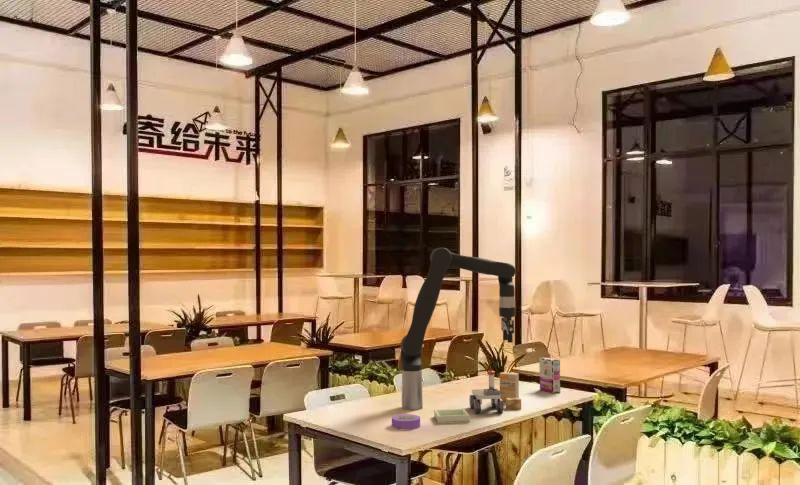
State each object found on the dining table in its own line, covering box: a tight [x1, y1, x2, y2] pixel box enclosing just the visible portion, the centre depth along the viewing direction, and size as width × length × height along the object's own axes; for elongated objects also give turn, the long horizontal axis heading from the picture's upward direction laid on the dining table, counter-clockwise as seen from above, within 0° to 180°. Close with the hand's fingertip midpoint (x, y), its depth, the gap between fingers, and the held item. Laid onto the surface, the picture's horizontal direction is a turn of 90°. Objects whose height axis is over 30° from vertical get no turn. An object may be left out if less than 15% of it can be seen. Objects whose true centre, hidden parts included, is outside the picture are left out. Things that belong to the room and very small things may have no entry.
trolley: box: [468, 388, 504, 415], centre depth 301 cm, size 12×16×10 cm
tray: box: [433, 408, 470, 425], centre depth 285 cm, size 13×12×3 cm
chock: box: [505, 397, 522, 411], centre depth 304 cm, size 6×4×4 cm, turn 95°
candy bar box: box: [538, 357, 561, 394], centre depth 343 cm, size 11×5×16 cm, turn 25°
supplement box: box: [499, 371, 520, 402], centre depth 321 cm, size 8×5×13 cm, turn 62°
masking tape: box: [391, 413, 421, 430], centre depth 275 cm, size 12×12×4 cm
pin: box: [487, 370, 496, 391], centre depth 299 cm, size 3×3×10 cm
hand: (507, 341), depth 313 cm, fingers open, 8 cm apart
